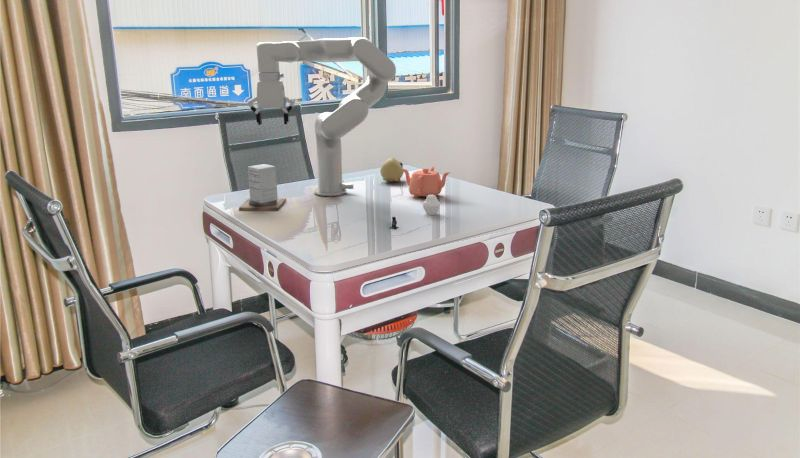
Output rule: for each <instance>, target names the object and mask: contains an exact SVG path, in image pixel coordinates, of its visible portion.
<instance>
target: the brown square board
mask: <svg viewBox="0 0 800 458" xmlns="http://www.w3.org/2000/svg"><path fill="white" fill-rule="evenodd" d="M286 202H287V199H286V198H278V200H275V201H270V202H266V203H258V202H254V201H251V200H250V198H248V199H246V200H245V201H244V202H243V203H242V204H241V205H240V206H238V211H264V212H265V211H270V212H272V211H274V212H275V211H279V210H280V209H281V208H282V206H284V204H285V203H286Z"/></svg>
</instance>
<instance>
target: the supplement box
mask: <svg viewBox="0 0 800 458" xmlns="http://www.w3.org/2000/svg"><path fill="white" fill-rule="evenodd" d="M276 168H277V167H276V166H275V165H272V164H266V163H262V164H255V165H250V166H247V173H248V187H249V199H250V200H251V201H254V202H258V203H266V202H270V201H275V200H278V199H279V198H278V183H277V170H276Z"/></svg>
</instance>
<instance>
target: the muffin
mask: <svg viewBox="0 0 800 458" xmlns="http://www.w3.org/2000/svg"><path fill="white" fill-rule="evenodd" d="M425 197H426V199H425V200H424V201H423V202H422V207H423V210H424V211H425V214H426V215H428V216H435V215H437V213H438V211H439V209H440V206H441V202H440V200H438V197H437V196H435V195H432V194H431V195H428V196H425Z"/></svg>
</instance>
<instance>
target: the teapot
mask: <svg viewBox="0 0 800 458" xmlns="http://www.w3.org/2000/svg"><path fill="white" fill-rule="evenodd" d="M402 170H403V171H404V175H405V181H406V184H407V186H409V187H408V191H409V194H410V195H411V196H413V198H415V199H419V198H420V197H427V196H428V195H431V194H432V195H435V196H436V197H437V196H439V194H441V192H442V191H443V190H442V189H444V187H445V186H446V185H445V184H446V181H447V176H448V175H449V174H450V173H451V172H450V171H449V172H448V171H447V172H444V173H443V175H442V177H441V176H440V172H438V171H435V166H431V167H430V169H429V168H427V167H424V168H422V170H416V171H414V172H413V173H412V174H411V177H410V172H409V171H408V169H405V168H403V169H402Z"/></svg>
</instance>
